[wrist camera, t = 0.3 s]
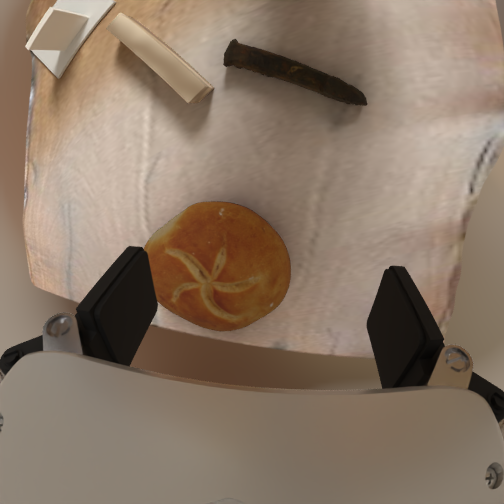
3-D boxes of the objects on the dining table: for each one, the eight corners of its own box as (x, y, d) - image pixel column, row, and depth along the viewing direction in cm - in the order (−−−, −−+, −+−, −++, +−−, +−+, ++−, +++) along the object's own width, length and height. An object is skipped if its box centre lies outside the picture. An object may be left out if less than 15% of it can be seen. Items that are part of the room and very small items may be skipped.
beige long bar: (136, 19, 27) (120, 12, 23) (214, 88, 33) (205, 86, 28) (123, 33, 28) (106, 28, 24) (199, 102, 34) (187, 103, 30)
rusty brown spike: (224, 66, 31) (217, 62, 27) (235, 42, 29) (229, 34, 25) (354, 121, 33) (363, 123, 29) (365, 97, 31) (376, 97, 27)
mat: (77, -22, 20) (75, -23, 20) (116, 2, 25) (114, 1, 24) (29, 46, 27) (27, 46, 26) (60, 78, 31) (57, 78, 31)
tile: (84, 14, 25) (49, 6, 17) (89, 17, 25) (53, 9, 18) (61, 47, 28) (24, 46, 20) (65, 51, 28) (28, 49, 20)
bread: (161, 173, 39) (130, 194, 31) (311, 216, 41) (318, 250, 32) (148, 287, 51) (127, 322, 42) (265, 322, 52) (261, 363, 44)
